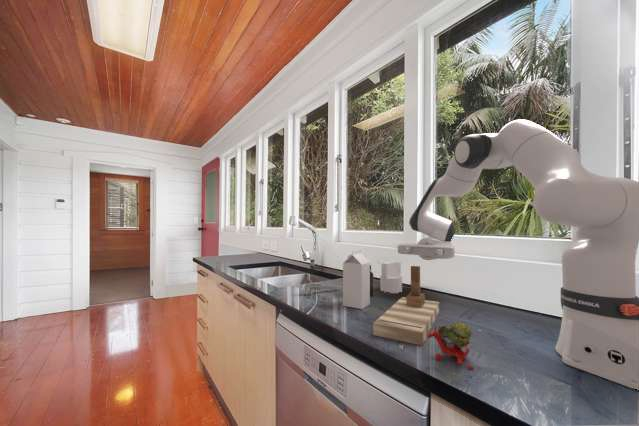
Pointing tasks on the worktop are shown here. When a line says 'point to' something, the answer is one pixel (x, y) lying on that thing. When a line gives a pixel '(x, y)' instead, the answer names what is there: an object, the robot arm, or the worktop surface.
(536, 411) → the worktop surface
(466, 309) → the worktop surface
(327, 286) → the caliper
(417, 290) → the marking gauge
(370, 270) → the supplement bottle
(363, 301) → the milk carton
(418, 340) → the slatted pale wooden block
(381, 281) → the cylinder with rectangular tab
